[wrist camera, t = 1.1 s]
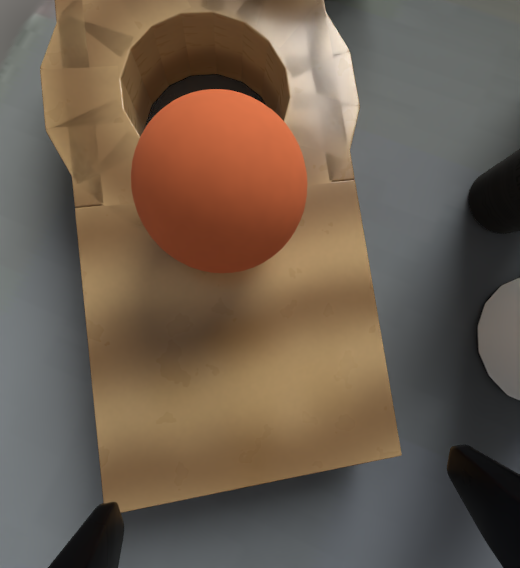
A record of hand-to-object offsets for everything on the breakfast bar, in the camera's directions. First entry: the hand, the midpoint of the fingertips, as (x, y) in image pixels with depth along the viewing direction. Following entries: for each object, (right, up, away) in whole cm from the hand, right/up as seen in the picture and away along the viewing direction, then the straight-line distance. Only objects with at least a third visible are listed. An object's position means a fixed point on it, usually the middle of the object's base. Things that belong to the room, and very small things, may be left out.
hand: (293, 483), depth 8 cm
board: (-3, +10, +13) cm, 16 cm away
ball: (-2, +9, +5) cm, 11 cm away
